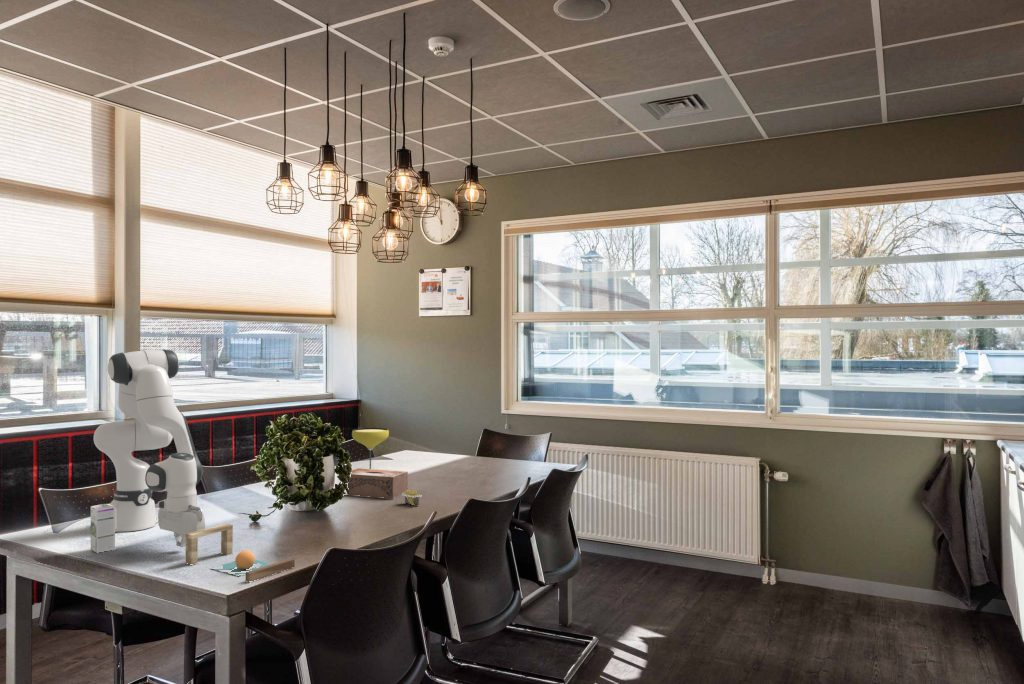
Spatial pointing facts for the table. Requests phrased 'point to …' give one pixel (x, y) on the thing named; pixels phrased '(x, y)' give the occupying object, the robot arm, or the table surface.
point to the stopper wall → (270, 569)
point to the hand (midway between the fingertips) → (181, 546)
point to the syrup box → (102, 528)
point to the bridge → (193, 536)
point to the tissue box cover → (378, 483)
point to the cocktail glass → (370, 437)
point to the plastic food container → (411, 497)
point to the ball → (245, 560)
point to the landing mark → (232, 565)
